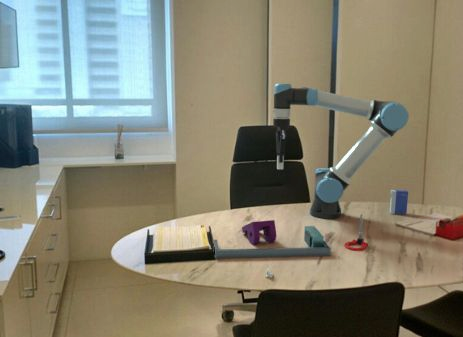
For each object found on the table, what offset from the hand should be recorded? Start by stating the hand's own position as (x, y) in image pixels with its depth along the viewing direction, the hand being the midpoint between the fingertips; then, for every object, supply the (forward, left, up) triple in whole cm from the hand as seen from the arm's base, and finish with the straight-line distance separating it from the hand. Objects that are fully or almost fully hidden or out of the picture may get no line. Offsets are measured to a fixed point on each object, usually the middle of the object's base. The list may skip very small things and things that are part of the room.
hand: (280, 169), depth 224 cm
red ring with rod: (-24, +38, -25) cm, 51 cm away
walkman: (-62, -8, -25) cm, 67 cm away
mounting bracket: (+14, +25, -25) cm, 38 cm away
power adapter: (+14, +66, -25) cm, 72 cm away
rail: (+11, +35, -24) cm, 44 cm away
